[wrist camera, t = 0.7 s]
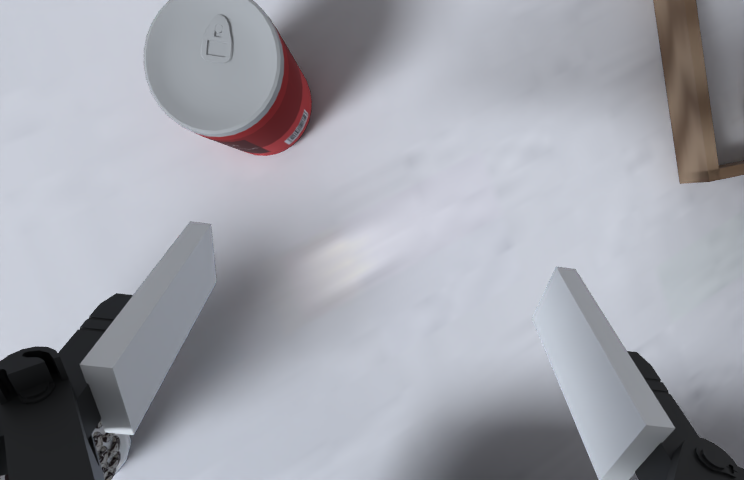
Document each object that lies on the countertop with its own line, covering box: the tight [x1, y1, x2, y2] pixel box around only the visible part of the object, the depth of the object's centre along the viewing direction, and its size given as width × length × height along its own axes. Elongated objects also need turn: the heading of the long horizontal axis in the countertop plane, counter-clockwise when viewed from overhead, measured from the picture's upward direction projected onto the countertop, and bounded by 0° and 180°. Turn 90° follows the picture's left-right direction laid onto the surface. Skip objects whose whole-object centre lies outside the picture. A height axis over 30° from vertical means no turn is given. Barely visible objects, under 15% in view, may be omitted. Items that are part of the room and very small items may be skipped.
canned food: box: [144, 0, 312, 156], centre depth 28 cm, size 8×8×11 cm
